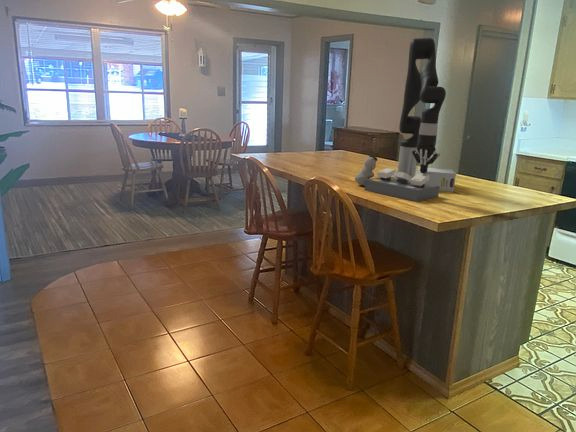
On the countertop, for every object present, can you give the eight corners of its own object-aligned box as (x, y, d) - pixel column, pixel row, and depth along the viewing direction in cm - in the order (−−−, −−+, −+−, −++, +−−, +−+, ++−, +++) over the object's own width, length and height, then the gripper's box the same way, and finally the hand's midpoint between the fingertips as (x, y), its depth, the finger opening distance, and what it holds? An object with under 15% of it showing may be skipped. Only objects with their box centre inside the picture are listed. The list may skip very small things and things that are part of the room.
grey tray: (387, 185, 227) (388, 173, 226) (438, 196, 208) (440, 182, 206) (364, 190, 215) (365, 176, 214) (416, 201, 196) (418, 187, 194)
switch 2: (401, 179, 214) (402, 174, 214) (410, 181, 210) (411, 176, 210) (393, 175, 209) (394, 170, 209) (402, 177, 205) (404, 172, 205)
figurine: (374, 187, 221) (377, 157, 217) (353, 186, 223) (356, 155, 219) (375, 184, 229) (377, 154, 225) (354, 183, 231) (357, 153, 227)
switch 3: (419, 177, 207) (419, 172, 206) (429, 179, 204) (429, 174, 203) (410, 184, 204) (410, 179, 202) (420, 186, 200) (420, 181, 199)
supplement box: (418, 189, 222) (420, 170, 220) (415, 184, 235) (417, 166, 232) (454, 192, 220) (456, 172, 218) (449, 186, 233) (451, 168, 230)
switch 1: (386, 172, 220) (386, 167, 219) (395, 174, 217) (395, 169, 216) (377, 176, 216) (377, 171, 215) (386, 178, 212) (386, 173, 211)
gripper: (446, 135, 197) (441, 174, 202) (419, 132, 207) (414, 170, 211) (437, 135, 192) (432, 176, 197) (410, 132, 202) (405, 171, 206)
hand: (423, 173), depth 204 cm, fingers closed
